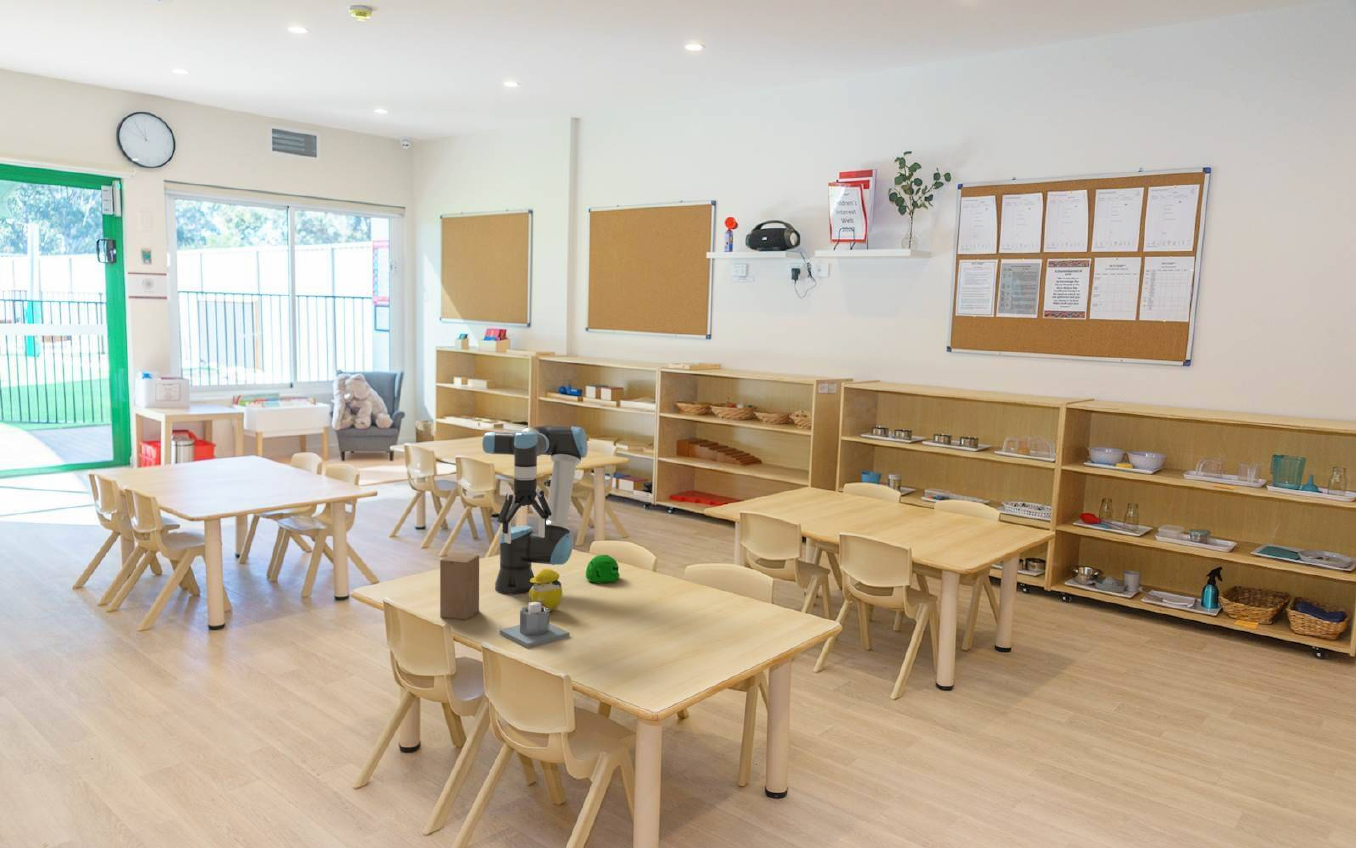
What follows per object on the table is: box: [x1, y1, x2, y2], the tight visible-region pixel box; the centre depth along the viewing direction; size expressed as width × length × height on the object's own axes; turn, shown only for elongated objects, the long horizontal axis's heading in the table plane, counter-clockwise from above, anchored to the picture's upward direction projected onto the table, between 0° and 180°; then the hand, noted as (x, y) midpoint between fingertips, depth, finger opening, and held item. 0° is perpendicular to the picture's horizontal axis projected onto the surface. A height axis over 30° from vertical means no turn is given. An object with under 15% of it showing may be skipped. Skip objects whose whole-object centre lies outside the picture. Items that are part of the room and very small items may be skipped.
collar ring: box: [519, 605, 550, 636], centre depth 293 cm, size 9×9×7 cm
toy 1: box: [528, 568, 563, 612], centre depth 317 cm, size 13×10×15 cm
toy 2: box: [585, 554, 621, 584], centre depth 356 cm, size 14×13×10 cm
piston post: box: [499, 602, 571, 649], centre depth 293 cm, size 16×16×10 cm
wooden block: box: [439, 552, 480, 621], centre depth 311 cm, size 10×10×20 cm
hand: (524, 539), depth 309 cm, fingers open, 13 cm apart
